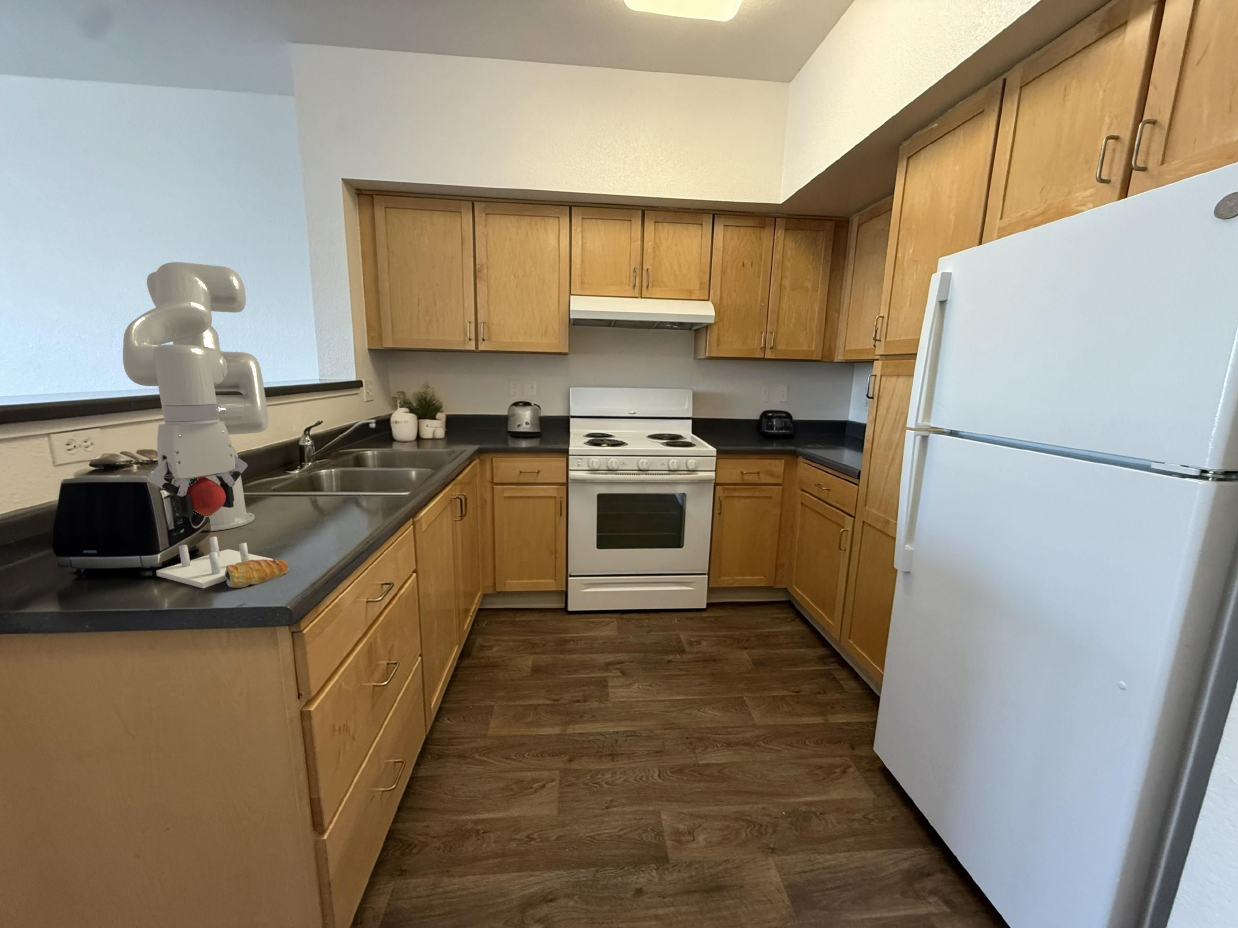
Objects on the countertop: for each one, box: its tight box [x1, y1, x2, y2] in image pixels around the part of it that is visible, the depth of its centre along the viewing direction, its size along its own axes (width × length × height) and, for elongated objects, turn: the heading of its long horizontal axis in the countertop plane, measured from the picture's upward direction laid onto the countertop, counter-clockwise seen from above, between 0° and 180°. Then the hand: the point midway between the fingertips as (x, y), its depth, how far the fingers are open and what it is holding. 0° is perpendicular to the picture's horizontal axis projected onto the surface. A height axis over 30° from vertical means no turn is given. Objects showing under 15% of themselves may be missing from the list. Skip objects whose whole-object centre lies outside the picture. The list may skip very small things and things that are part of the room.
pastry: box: [225, 559, 290, 589], centre depth 89 cm, size 9×7×4 cm
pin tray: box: [156, 536, 274, 589], centre depth 93 cm, size 14×12×5 cm
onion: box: [187, 477, 226, 517], centre depth 90 cm, size 6×6×8 cm
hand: (207, 510), depth 91 cm, fingers closed on onion, 5 cm apart
